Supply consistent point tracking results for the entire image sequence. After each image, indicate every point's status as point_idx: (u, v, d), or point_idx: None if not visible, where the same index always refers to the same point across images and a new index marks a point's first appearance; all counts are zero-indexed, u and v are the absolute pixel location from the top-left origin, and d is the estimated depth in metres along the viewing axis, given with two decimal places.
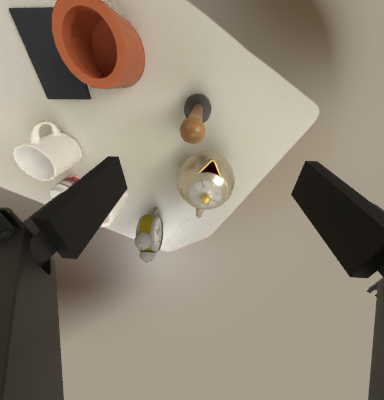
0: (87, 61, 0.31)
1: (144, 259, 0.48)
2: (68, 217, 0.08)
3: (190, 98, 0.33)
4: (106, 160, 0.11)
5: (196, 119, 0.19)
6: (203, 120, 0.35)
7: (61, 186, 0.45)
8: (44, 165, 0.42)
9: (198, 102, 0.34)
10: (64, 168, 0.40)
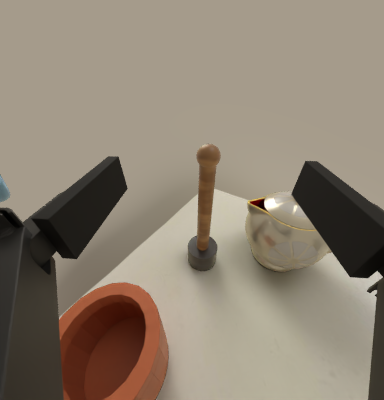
0: None
1: None
2: (68, 217, 0.08)
3: (191, 251, 0.31)
4: (106, 160, 0.11)
5: (198, 151, 0.21)
6: (212, 241, 0.33)
7: None
8: None
9: (195, 244, 0.32)
10: None
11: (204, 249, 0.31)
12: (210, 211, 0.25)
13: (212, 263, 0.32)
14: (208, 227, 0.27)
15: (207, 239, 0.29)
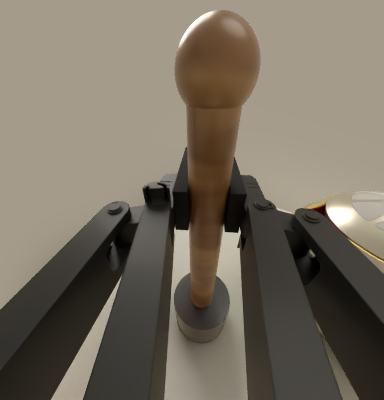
0: None
1: None
2: (188, 193, 0.09)
3: (179, 311, 0.16)
4: None
5: None
6: (220, 284, 0.18)
7: None
8: None
9: (188, 293, 0.17)
10: None
11: (205, 306, 0.16)
12: (219, 241, 0.11)
13: (220, 329, 0.17)
14: (213, 272, 0.13)
15: (211, 291, 0.14)
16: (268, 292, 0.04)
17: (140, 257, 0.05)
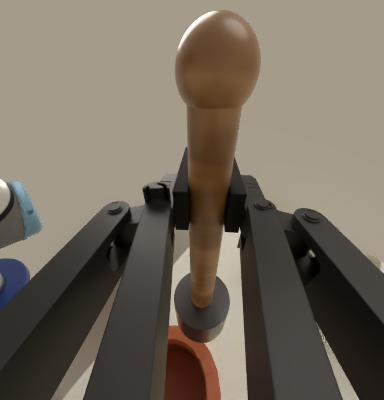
0: None
1: None
2: (188, 193, 0.09)
3: (179, 311, 0.16)
4: (187, 149, 0.13)
5: None
6: (220, 284, 0.18)
7: None
8: None
9: (188, 293, 0.17)
10: None
11: (205, 306, 0.16)
12: (219, 241, 0.11)
13: (220, 329, 0.17)
14: (213, 272, 0.13)
15: (211, 290, 0.14)
16: (268, 292, 0.04)
17: (140, 257, 0.05)
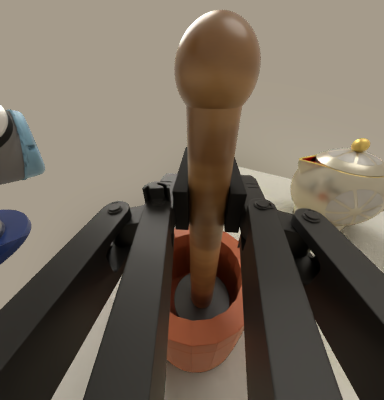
0: None
1: None
2: (188, 193, 0.09)
3: (179, 311, 0.16)
4: (187, 150, 0.13)
5: None
6: (220, 284, 0.18)
7: None
8: None
9: (188, 294, 0.17)
10: None
11: (205, 306, 0.16)
12: (219, 241, 0.11)
13: None
14: (213, 272, 0.13)
15: (211, 291, 0.14)
16: (268, 292, 0.04)
17: (140, 257, 0.05)
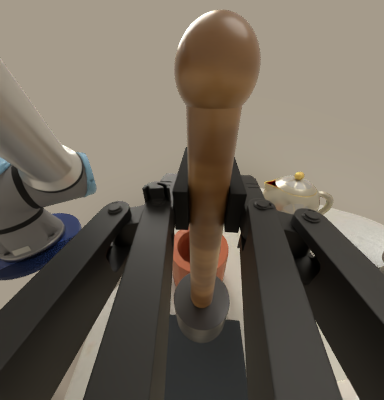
0: None
1: None
2: (188, 193, 0.09)
3: (179, 311, 0.16)
4: None
5: None
6: (220, 284, 0.18)
7: None
8: None
9: (188, 294, 0.17)
10: None
11: (205, 306, 0.16)
12: (219, 241, 0.11)
13: (220, 329, 0.17)
14: (213, 272, 0.13)
15: (211, 291, 0.14)
16: (268, 292, 0.04)
17: (140, 257, 0.05)
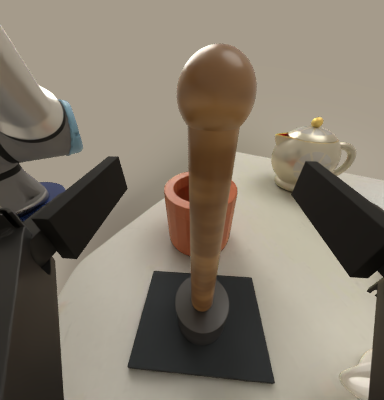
0: None
1: None
2: (68, 217, 0.08)
3: (180, 314, 0.16)
4: (106, 160, 0.11)
5: None
6: (220, 288, 0.18)
7: None
8: None
9: (189, 297, 0.17)
10: None
11: (205, 310, 0.16)
12: (218, 249, 0.11)
13: (220, 332, 0.17)
14: (213, 277, 0.13)
15: (211, 295, 0.15)
16: None
17: None
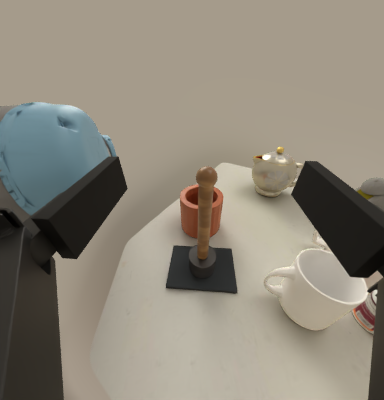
0: None
1: None
2: (68, 217, 0.08)
3: (192, 260, 0.33)
4: (106, 160, 0.11)
5: None
6: (212, 250, 0.35)
7: None
8: None
9: (196, 254, 0.34)
10: None
11: (204, 258, 0.33)
12: (209, 224, 0.28)
13: (212, 271, 0.34)
14: (207, 238, 0.30)
15: (207, 249, 0.31)
16: None
17: None
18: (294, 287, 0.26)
